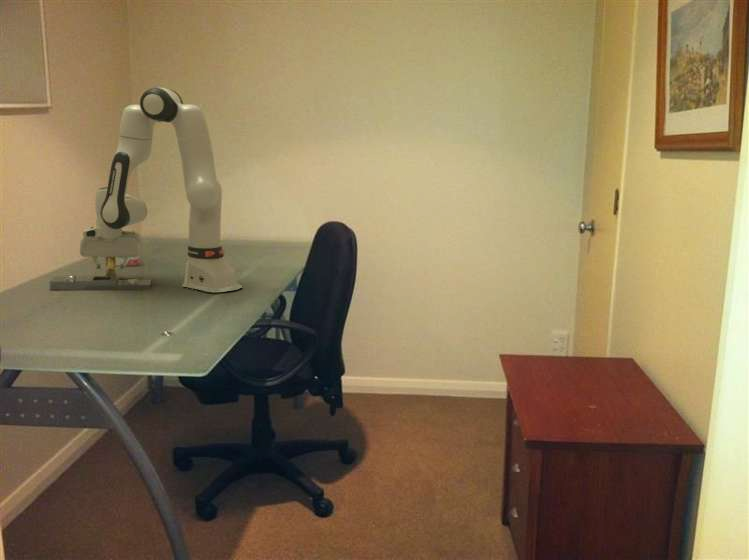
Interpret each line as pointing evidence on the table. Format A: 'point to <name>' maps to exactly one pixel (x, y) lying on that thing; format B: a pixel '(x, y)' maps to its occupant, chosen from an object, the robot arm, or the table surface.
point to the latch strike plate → (96, 283)
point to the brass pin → (110, 266)
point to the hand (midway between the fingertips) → (110, 268)
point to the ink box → (128, 261)
